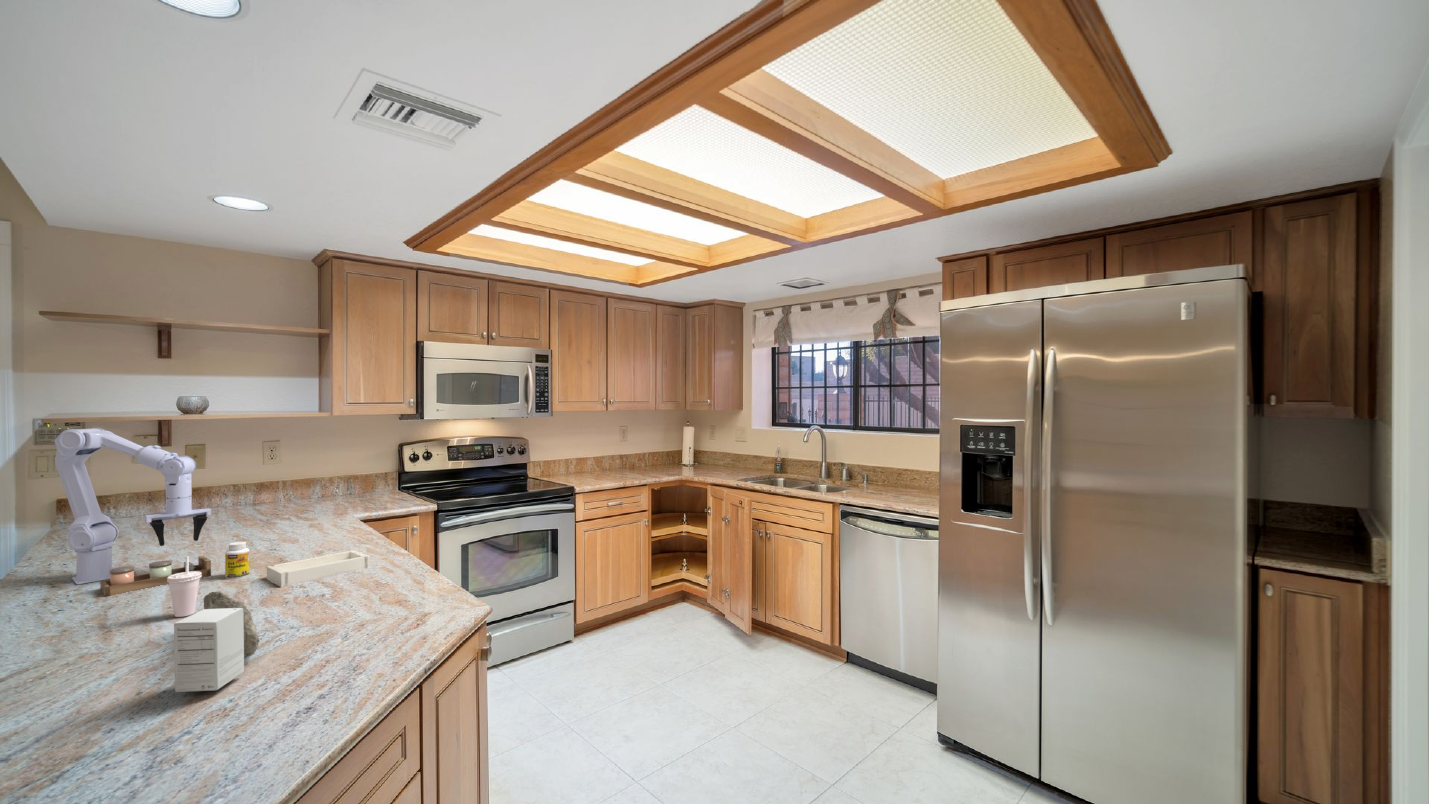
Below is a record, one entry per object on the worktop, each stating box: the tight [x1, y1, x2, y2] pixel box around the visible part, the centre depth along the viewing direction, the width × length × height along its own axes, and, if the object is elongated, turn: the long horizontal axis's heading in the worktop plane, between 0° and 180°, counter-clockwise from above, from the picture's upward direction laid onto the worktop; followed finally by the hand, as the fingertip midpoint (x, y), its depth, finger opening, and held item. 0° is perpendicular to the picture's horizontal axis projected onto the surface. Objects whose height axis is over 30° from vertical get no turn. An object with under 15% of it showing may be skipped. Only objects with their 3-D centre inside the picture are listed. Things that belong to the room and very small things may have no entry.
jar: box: [148, 560, 173, 579], centre depth 169 cm, size 5×5×6 cm
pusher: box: [183, 561, 196, 572], centre depth 175 cm, size 6×2×4 cm, turn 53°
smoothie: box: [167, 555, 202, 618], centre depth 145 cm, size 6×6×14 cm
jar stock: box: [109, 565, 135, 586], centre depth 163 cm, size 5×5×6 cm
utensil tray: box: [266, 549, 371, 588], centre depth 178 cm, size 12×23×4 cm, turn 143°
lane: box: [99, 555, 212, 598], centre depth 169 cm, size 9×22×5 cm, turn 143°
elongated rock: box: [202, 591, 260, 658], centre depth 127 cm, size 35×5×10 cm, turn 53°
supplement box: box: [173, 608, 245, 693], centre depth 110 cm, size 7×7×13 cm
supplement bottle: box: [224, 541, 250, 580], centre depth 175 cm, size 6×6×10 cm
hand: (179, 542), depth 176 cm, fingers open, 7 cm apart
